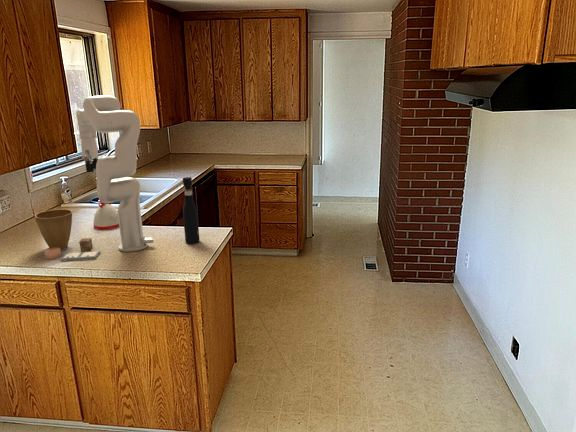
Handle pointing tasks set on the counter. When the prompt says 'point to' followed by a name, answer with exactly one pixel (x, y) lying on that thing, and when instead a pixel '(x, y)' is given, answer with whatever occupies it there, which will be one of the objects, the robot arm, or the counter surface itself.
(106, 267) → the counter surface
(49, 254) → the tan round lump
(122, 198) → the robot arm
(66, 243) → the plant pot
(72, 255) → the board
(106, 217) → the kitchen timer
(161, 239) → the counter surface
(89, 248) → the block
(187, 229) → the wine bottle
